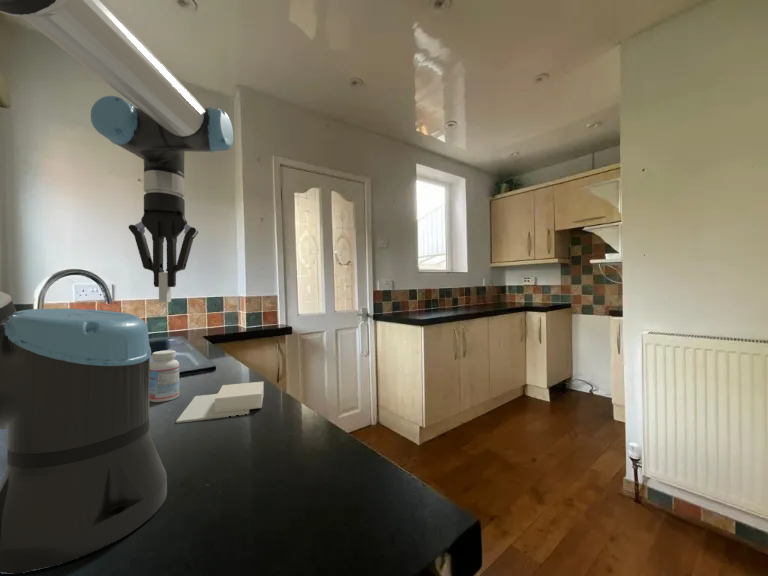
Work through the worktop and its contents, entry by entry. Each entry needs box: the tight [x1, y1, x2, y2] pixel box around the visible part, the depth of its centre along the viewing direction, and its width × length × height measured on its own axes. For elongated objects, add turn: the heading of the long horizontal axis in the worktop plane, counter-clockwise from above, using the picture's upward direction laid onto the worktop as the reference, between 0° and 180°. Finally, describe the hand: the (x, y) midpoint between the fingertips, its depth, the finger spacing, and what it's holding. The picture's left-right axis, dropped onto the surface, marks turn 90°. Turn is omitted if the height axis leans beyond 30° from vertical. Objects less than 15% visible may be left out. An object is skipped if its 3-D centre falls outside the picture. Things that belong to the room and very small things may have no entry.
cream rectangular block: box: [215, 381, 265, 413], centre depth 73 cm, size 10×3×9 cm
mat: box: [175, 393, 251, 424], centre depth 72 cm, size 16×13×1 cm
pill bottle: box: [149, 349, 180, 403], centre depth 77 cm, size 6×6×11 cm
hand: (165, 302), depth 71 cm, fingers closed
